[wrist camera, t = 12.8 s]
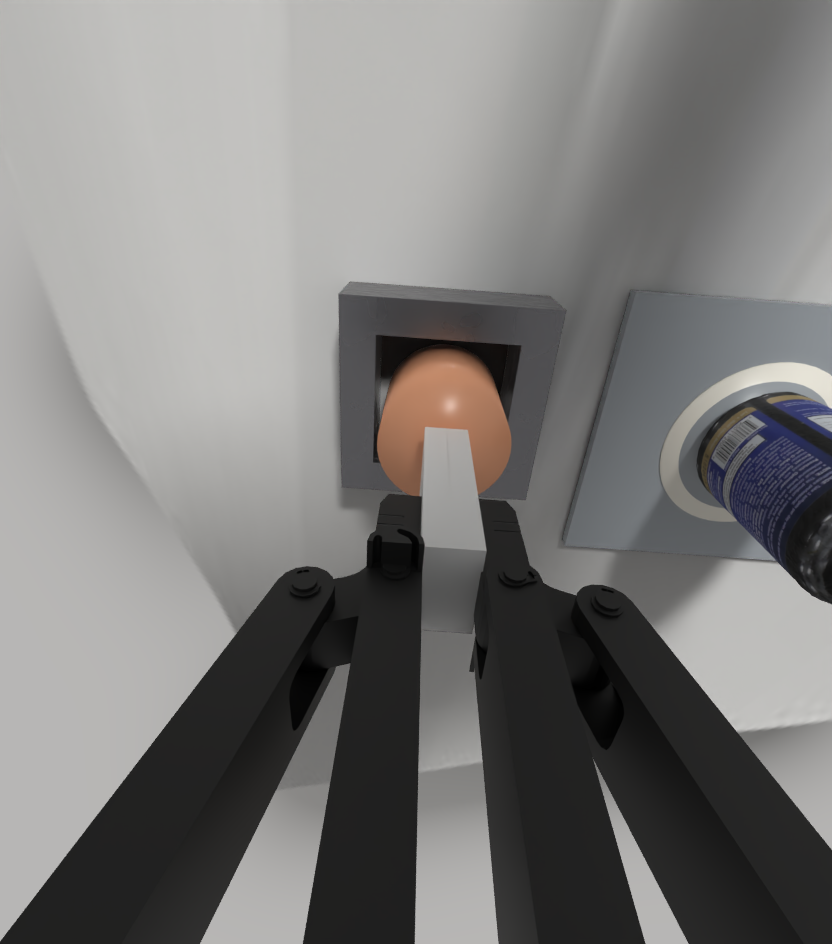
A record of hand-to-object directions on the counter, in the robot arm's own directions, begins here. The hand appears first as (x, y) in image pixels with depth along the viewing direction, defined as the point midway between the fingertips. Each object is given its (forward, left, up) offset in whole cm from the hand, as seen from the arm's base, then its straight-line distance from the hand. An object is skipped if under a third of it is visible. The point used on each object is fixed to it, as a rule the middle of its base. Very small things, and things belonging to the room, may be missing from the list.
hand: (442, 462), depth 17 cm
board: (+2, +16, -8) cm, 18 cm away
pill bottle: (+2, +16, -7) cm, 18 cm away
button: (0, 0, -6) cm, 6 cm away
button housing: (0, 0, -8) cm, 8 cm away
